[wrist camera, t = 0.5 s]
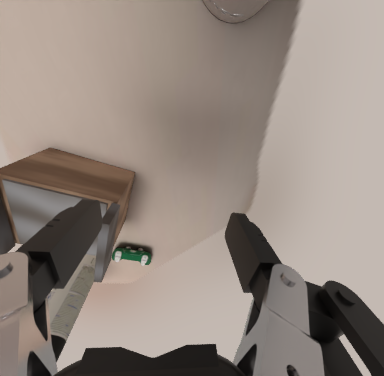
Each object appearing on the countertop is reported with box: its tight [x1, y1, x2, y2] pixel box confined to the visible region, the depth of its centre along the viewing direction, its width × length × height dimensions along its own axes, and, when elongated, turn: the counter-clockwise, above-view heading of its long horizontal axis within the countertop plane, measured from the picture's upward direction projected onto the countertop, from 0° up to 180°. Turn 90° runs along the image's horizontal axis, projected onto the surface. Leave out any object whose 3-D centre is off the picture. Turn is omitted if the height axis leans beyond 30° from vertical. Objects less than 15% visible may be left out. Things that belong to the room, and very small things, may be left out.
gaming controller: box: [112, 246, 151, 266], centre depth 37 cm, size 9×4×6 cm
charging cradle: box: [0, 148, 135, 282], centre depth 23 cm, size 12×14×12 cm
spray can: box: [47, 254, 96, 362], centre depth 30 cm, size 7×7×20 cm
